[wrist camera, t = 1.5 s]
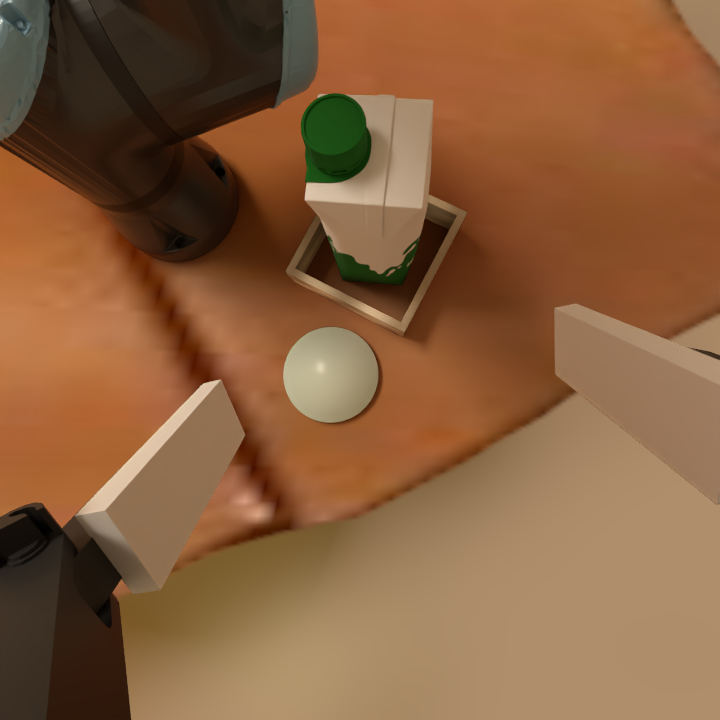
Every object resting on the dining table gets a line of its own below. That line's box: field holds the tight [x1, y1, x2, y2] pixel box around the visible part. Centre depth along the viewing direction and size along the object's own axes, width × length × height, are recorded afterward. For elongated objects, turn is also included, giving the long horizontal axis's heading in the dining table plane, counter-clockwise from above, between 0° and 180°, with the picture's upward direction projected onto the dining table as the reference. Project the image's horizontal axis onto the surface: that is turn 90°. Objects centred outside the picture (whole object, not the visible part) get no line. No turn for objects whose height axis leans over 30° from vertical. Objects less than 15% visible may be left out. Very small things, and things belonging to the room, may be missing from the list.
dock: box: [285, 195, 467, 337], centre depth 38 cm, size 15×15×4 cm
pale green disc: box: [283, 327, 378, 423], centre depth 39 cm, size 11×11×1 cm
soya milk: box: [301, 93, 433, 285], centre depth 30 cm, size 9×9×20 cm
